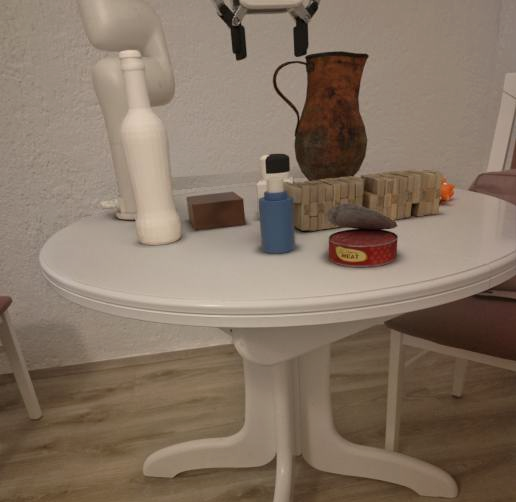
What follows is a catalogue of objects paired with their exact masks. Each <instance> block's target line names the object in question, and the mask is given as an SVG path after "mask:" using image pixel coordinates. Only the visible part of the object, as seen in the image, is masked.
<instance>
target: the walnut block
mask: <svg viewBox="0 0 516 502" xmlns="http://www.w3.org/2000/svg"><path fill="white" fill-rule="evenodd" d="M186 204H187V205H186V206H187V212H188V219H189V223H190V224H191V226H192V227H193V229H194V230H195V232H198V231H205V230H206V231H207V230H213V229H222V228H229V227H237V226H245V225H246V217H245V202H244V198H243V197H241V196H240V195H239V194H237V193H236V192H234V191H226V192H217V193H208V194H199V195H189V196H186Z"/></svg>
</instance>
